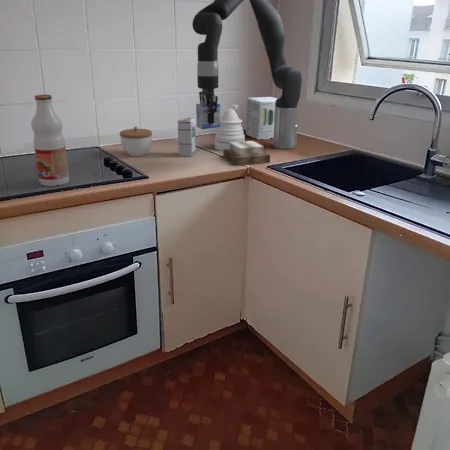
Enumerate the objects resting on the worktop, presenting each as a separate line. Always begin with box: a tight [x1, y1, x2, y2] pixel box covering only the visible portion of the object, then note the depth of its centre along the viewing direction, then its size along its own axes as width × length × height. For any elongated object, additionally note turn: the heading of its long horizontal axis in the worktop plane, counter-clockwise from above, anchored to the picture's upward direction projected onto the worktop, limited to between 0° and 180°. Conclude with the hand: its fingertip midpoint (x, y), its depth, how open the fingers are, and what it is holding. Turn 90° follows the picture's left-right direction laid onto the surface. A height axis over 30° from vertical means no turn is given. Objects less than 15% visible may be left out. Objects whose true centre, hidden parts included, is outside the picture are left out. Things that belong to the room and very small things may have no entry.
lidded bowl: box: [119, 126, 153, 157], centre depth 187 cm, size 13×13×11 cm
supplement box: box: [245, 96, 279, 141], centre depth 220 cm, size 13×13×18 cm
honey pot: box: [214, 104, 246, 152], centre depth 198 cm, size 13×13×18 cm
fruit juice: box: [31, 94, 70, 187], centre depth 148 cm, size 9×9×28 cm
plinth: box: [222, 140, 271, 166], centre depth 183 cm, size 14×14×6 cm
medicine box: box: [195, 102, 221, 130], centre depth 171 cm, size 8×4×9 cm, turn 118°
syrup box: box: [177, 117, 197, 158], centre depth 186 cm, size 6×6×14 cm
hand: (208, 122), depth 172 cm, fingers closed on medicine box, 4 cm apart
